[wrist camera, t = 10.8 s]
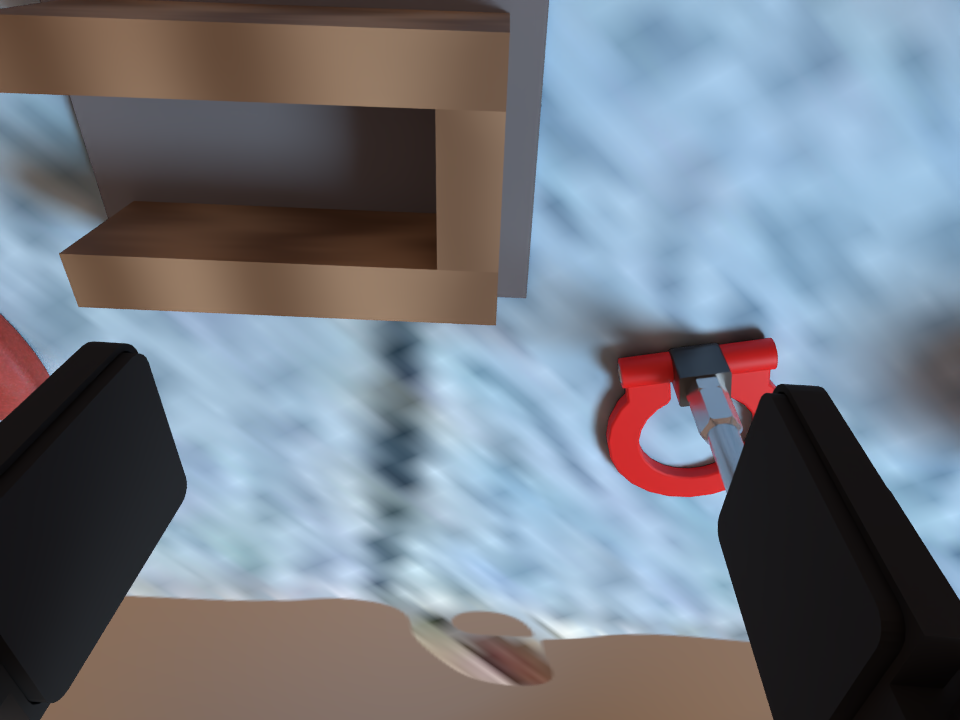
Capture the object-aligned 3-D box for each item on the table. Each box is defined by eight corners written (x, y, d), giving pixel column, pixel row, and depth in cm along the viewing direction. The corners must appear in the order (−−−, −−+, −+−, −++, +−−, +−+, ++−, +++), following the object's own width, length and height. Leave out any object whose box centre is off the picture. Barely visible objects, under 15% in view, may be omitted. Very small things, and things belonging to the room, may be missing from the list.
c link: (510, 13, 21) (509, 32, 17) (498, 262, 26) (495, 325, 22) (75, -3, 21) (-30, 13, 17) (147, 247, 26) (78, 307, 22)
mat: (551, -38, 21) (551, -37, 20) (525, 292, 27) (525, 297, 27) (32, -55, 21) (22, -55, 20) (133, 275, 28) (127, 280, 27)
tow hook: (775, 471, 33) (790, 325, 28) (895, 738, 23) (957, 587, 17) (611, 488, 34) (596, 351, 29) (655, 748, 24) (643, 611, 19)
